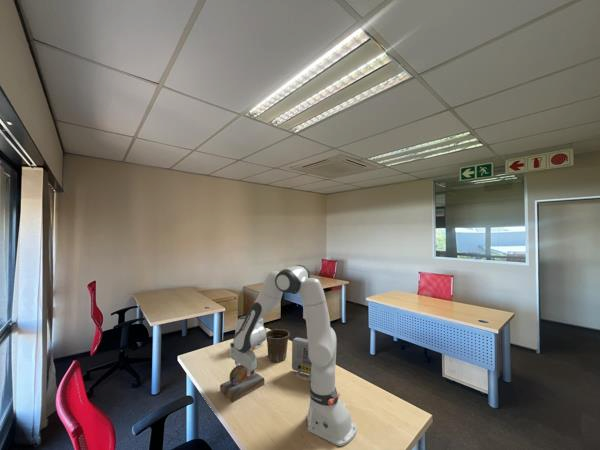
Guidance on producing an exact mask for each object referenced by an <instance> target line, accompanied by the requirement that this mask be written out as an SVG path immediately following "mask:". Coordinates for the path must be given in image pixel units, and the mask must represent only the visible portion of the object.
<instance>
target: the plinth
mask: <svg viewBox="0 0 600 450" xmlns="http://www.w3.org/2000/svg"><path fill="white" fill-rule="evenodd" d="M264 385H265V377H264V376H261V375H260V374H258V373H257V372H254V374H253V376H252V377H251V378H250V379H248V380H246V381H244V382H242V383H240V384H238V385H234V384H233V383H231V382H230V379H229V380H227V381H225V382H223V383H221V384H219V392H220V393H221V394H222V395H223V396H224V397H225V398H226V399H228V400H229V402H231V403H235V402H237V401H238V400H239V399H242V398H244V397H245V396H247V395H249V394H251V393H253V392H255V391H256V390H257V389H259V388H261V387H263V386H264Z"/></svg>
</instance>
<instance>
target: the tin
mask: <svg viewBox="0 0 600 450" xmlns="http://www.w3.org/2000/svg"><path fill="white" fill-rule="evenodd" d="M247 371H248V370H247V368H246V367H244V366H242V365H241V364H239V366H237V367H236V366H235V367H233V369H232V370H231V371H230V373H229V380H230V382H231V383H233V384H234V385H238V384H240V383H242V382H244V381H246V380H248V379H250V378H251V377H252V376H253V374H254V372H255V371H256V369H255V370H253V371H251V372H250V376H246V372H247ZM255 373H256V372H255Z"/></svg>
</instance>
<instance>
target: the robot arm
mask: <svg viewBox="0 0 600 450" xmlns="http://www.w3.org/2000/svg"><path fill="white" fill-rule="evenodd" d="M284 293H287V294H288V293H289V294H291V295H292V294H293V295H296V294H299V295H300V297H301V298H300V299H301V304H302V307H303V313H304V318H305V324H306V337H307V338H306V339H307V340H308V356H309V359H310V361H311V363H312V365H311V381H310V385H309V397H310V398H309V405H308V412H307V414H306V423H307V431H308V432H309V433H312V434H314V435H315V436H317V437H319V438H322V439H323V440H326V441H327V442H329V443H331V444H334V445H335V446H338V447H342V446H346V445H347V444H349V443H350V442H351V441H352V439H354V438H355V435H356V434H357V432H358V427H357V424H356V423H355V422H354V421H352V417H351V416H352V415H351V413H350V411H349V410H348V408H347V407H346V405H345V404H344V403H343V402H342V401H341V399H340V396H341V392H339V393H338V391H337V388H336V362H337V361H336V360H337V344H338V343H337V334H336V332H335V330H334V329H333V327H331V319H330V318H331V317H330V311H329V307H328V303H327V300H326V295H325V290H324V289H323V286H322V283H321V281H320V280H319V279H318V278H315V277H311V272H310V270H309V268H308V267H307V266H306V265H302V264H297V265H293V266H289V267H286V268H284V269H282V270H280V271H278V270H272V271H271V272H269V274H268V275H267V276H266V278H265V280H264V281H263V284H262V286H261V289H260V292H259V294H258V295H257V298H256V299H255V301H254V302H253V304H252V305H251V306H250V308H249V310H248V312H247V314H246V315H243V316H240V317H238V318H237V319H236V322H235V333H234V337H233V341H232V342H230V343H229V346H230V348H229V349H230V351H229V352H230V353H229V354H230V355H229V356H230V359H232V360H233V361H234V365H235V367H237V366H239V365H242V366H244V367H246V368H247V370H248V371H247V372H246V376H250V372H251V371H253V370H255V371H256V370H257V367H258V360H257V354H256V353H255V352H254V350H253V351H251V349H252V348H253V347H255V346H257V345H258V344H260V343H262V342H263V343H264V341H266V340H267V339H266V336H267V333H266V332H267V330H266V328H265V326H264V324H263V325H261V324H258V323H257V322H258V321H259V320H260V318H263V317H264V316H265V315H267V314H268V313H270V312H272V311H273V310H275V309H276V307H278V305H279V304H280V302H281V300H282V297H283V294H284Z"/></svg>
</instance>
